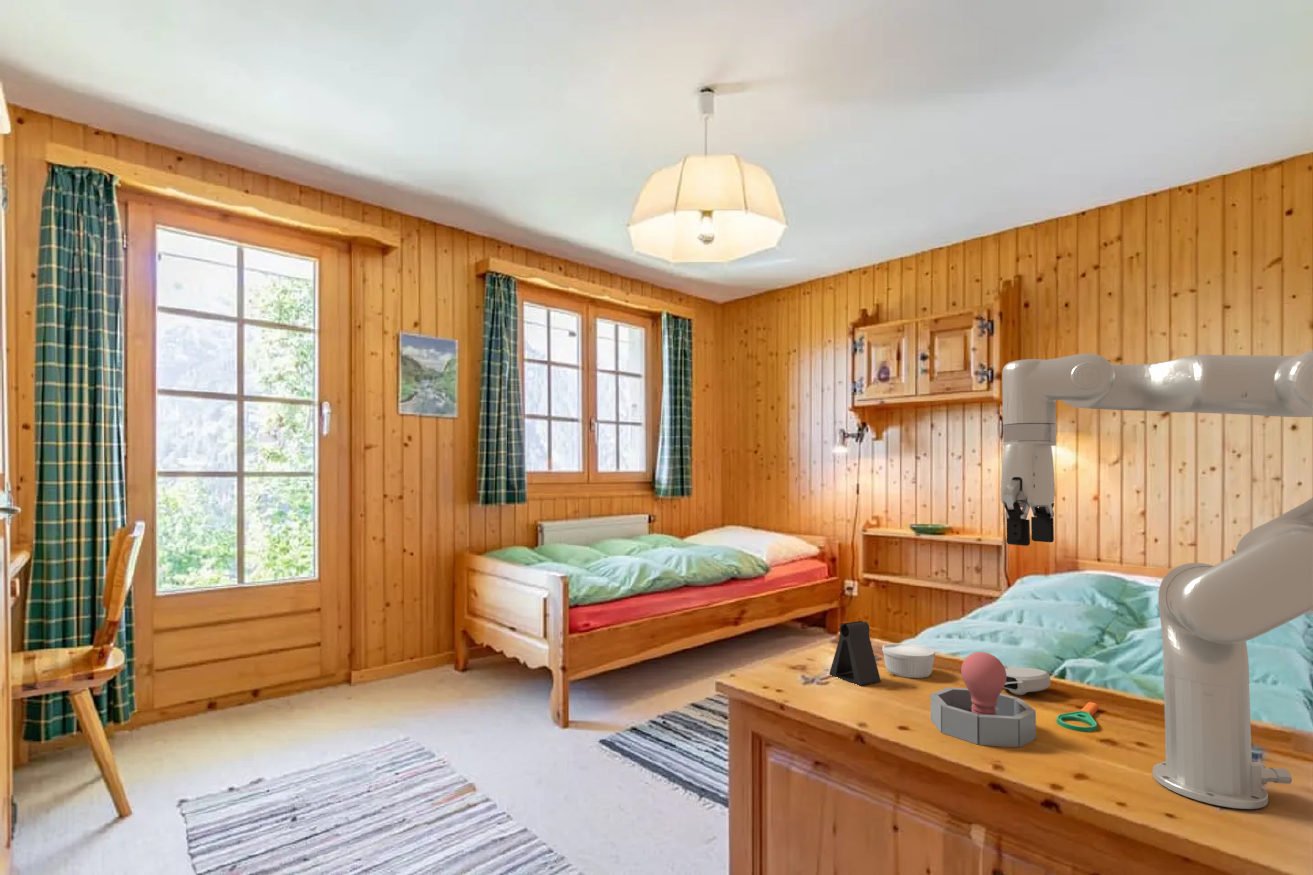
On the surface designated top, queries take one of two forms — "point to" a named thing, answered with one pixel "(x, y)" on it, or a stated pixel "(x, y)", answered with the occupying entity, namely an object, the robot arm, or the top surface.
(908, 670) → the ramekin
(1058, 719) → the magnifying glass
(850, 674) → the phone stand
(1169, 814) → the top surface
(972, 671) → the light bulb
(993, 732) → the ceramic bowl
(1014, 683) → the robot toy
